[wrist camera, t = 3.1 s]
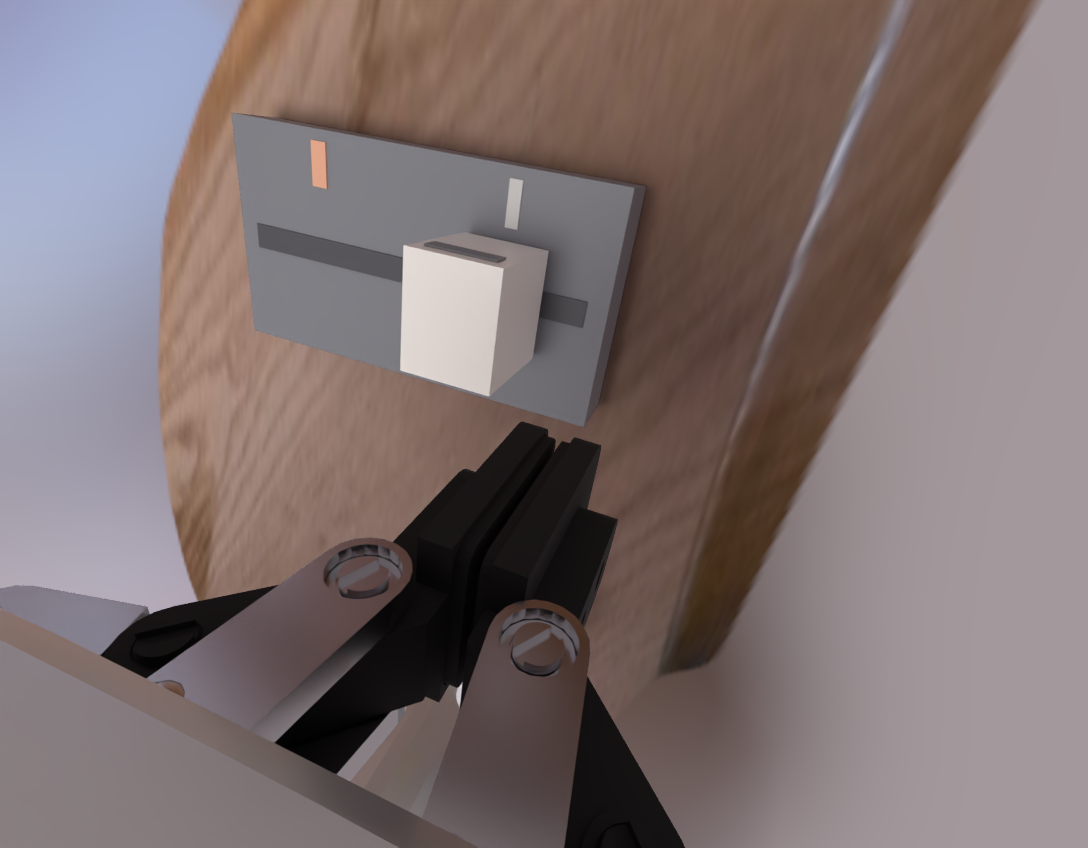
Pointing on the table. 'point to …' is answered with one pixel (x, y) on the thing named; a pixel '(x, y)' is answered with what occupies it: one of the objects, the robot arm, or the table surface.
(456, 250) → the cap
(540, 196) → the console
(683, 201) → the table surface
